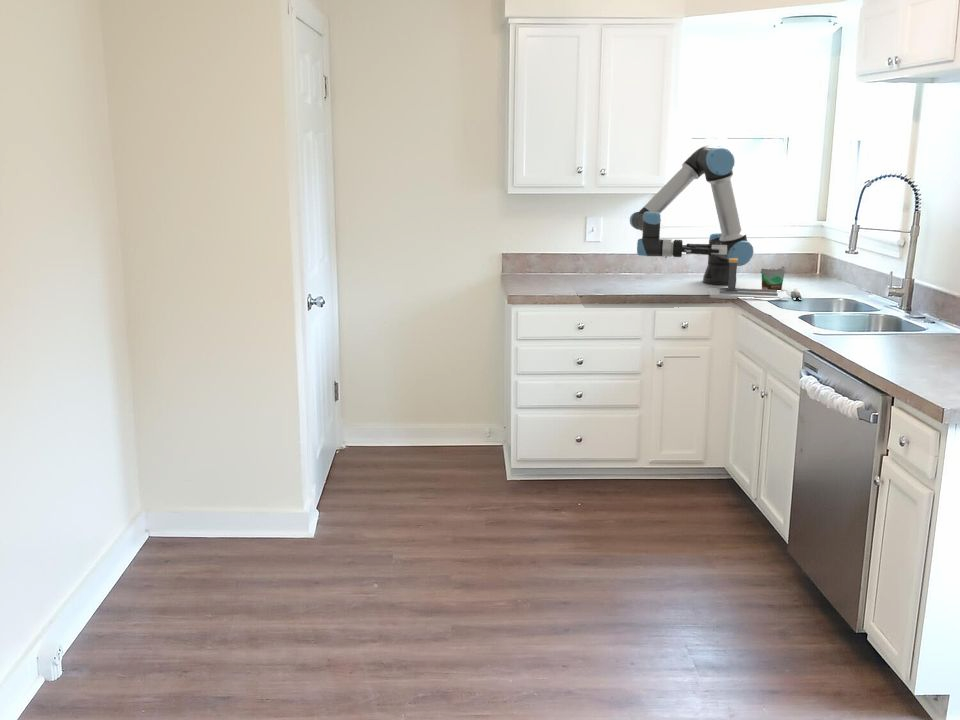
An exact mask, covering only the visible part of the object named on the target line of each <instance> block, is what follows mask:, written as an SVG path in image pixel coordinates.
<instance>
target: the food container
mask: <svg viewBox="0 0 960 720" xmlns="http://www.w3.org/2000/svg"><path fill="white" fill-rule="evenodd" d="M786 273H787V270H786V267H785V266H781V268H770V269H769V268H764V267H763V268H761V270H760V274H761V289H765V290H781V291H782V289H783V282H784V276H785V274H786Z"/></svg>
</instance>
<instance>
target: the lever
mask: <svg viewBox="0 0 960 720" xmlns="http://www.w3.org/2000/svg"><path fill="white" fill-rule="evenodd" d="M729 263H730V266H729V280H728V285H727V287H725V288H726V289H725V291H735V292H738V289H737V288H738V287H736V284H737V269H738V266H737V263H738V258H729Z"/></svg>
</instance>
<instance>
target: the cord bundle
mask: <svg viewBox="0 0 960 720" xmlns="http://www.w3.org/2000/svg"><path fill="white" fill-rule="evenodd" d="M790 295H791V298H792V297H793V298H797V297H798V298H800V299H801V298H802V296H801V293H800V291H798V289H797V288H794V289H793V290H792V291H790ZM793 298H792V299H793ZM798 298H797V299H798Z"/></svg>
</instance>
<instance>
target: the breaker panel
mask: <svg viewBox="0 0 960 720" xmlns="http://www.w3.org/2000/svg"><path fill="white" fill-rule="evenodd" d="M726 288H727V287H719V288H715V287H713V288H712V287H711V288H710V289H709V298H710V299H727V300H728V299H729V300H738V299H737V298H738V297H754V298H780V297H783V298H788V297H789V296H788V293H787V291H786V290H781V291H777V290H765V289H762V288H761V289H760V288H759V289H758V288H757V289H756V288H738V287H736V288H737V289H738V292H735V291H725V289H726ZM788 299H789V298H788Z"/></svg>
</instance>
